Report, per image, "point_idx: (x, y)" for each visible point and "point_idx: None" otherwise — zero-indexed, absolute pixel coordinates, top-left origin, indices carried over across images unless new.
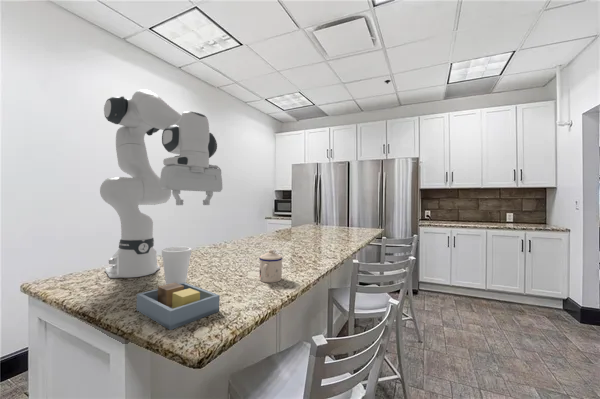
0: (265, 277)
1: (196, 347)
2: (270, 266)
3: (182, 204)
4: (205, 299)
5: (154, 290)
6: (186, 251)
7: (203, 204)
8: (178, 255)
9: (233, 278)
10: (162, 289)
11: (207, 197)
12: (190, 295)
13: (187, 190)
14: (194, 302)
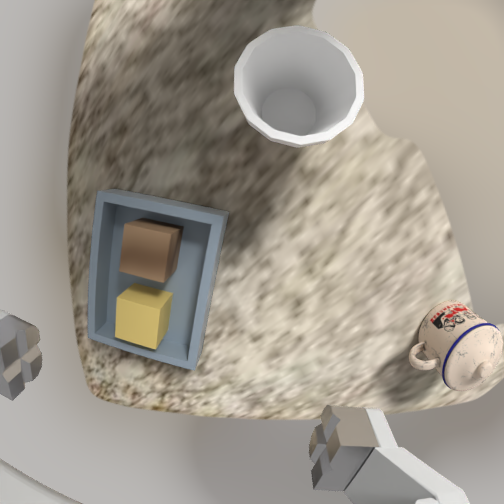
0: (423, 339)
1: (101, 385)
2: (437, 367)
3: (33, 369)
4: (159, 359)
5: (132, 204)
6: (299, 144)
7: (324, 413)
8: (262, 133)
9: (424, 228)
10: (122, 248)
11: (384, 492)
12: (132, 341)
13: (6, 472)
14: (135, 350)
